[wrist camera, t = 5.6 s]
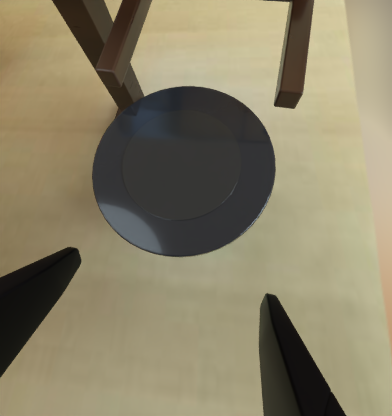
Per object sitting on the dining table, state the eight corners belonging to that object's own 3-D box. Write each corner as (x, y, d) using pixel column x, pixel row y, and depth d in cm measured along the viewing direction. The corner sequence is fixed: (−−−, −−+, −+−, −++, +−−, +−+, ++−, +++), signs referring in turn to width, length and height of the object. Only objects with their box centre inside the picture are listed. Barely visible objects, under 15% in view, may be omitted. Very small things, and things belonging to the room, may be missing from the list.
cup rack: (243, 204, 21) (327, 50, 6) (101, 177, 23) (-125, 11, 8) (257, 120, 23) (346, -156, 8) (126, 102, 25) (-9, -144, 10)
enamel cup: (250, 240, 20) (314, 207, 7) (180, 271, 20) (121, 290, 7) (218, 176, 22) (226, 60, 9) (154, 203, 22) (72, 123, 9)
